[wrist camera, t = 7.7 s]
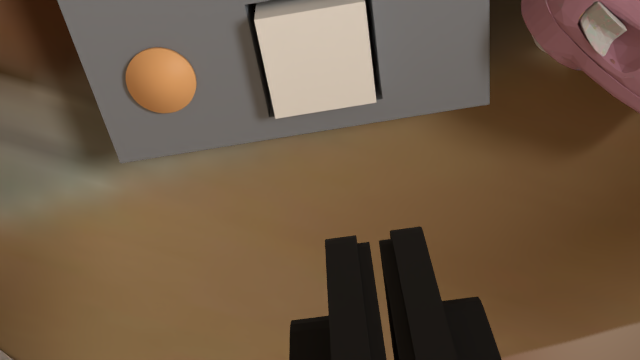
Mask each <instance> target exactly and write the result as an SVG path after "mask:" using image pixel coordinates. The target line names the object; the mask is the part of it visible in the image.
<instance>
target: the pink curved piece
mask: <svg viewBox="0 0 640 360" xmlns="http://www.w3.org/2000/svg"><path fill="white" fill-rule="evenodd" d="M521 12H522V16H523V19H524V21H525V24H526V26H527V28H528V30H529V31H530V33H531V34H532V37H533V39H534V42H535V44H536V45H537V46H538V47H539V49H541V50H542V51H543V52H545V53H547V54H549V55H550V56H551V57H552V58H554V59H555V60H556V61H557V62H558V63H560V64H562V65H564V66H566V67H569V68H571V69H574V70H582V71H583V72H585V73H586V74H587V75H588V76H589V77H590V78H591V79H593V80H594V81H595V82H596V83H598V84H599V85H600V86H601V87H603V88H604V89H605V90H606V91H607V92H609V93H610V94H611V95H612V96H614V97H615V98H617V99H618V100H620V101H621V102H623V103H624V104H626V105H627V106H629V107H631V108H632V109H634V110H635V111H637V112H638V113H640V0H522V1H521Z"/></svg>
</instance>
